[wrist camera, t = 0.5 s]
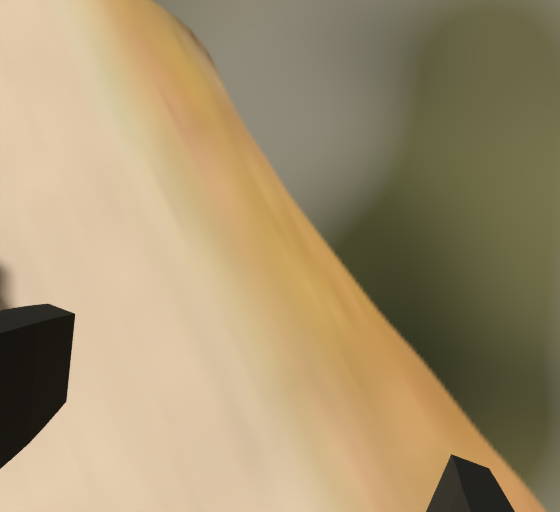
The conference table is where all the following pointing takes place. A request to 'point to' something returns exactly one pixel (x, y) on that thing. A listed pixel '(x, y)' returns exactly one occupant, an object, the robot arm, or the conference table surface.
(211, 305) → the conference table surface
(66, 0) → the conference table surface
